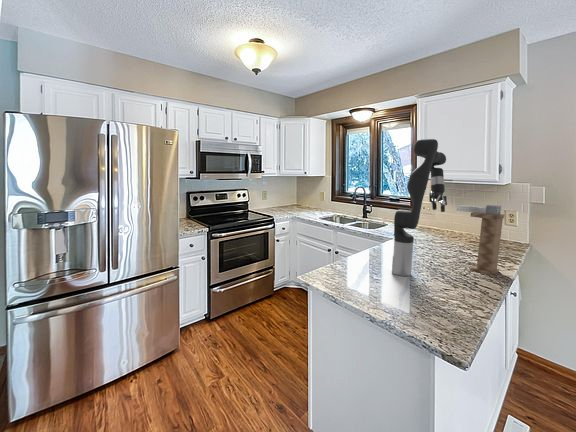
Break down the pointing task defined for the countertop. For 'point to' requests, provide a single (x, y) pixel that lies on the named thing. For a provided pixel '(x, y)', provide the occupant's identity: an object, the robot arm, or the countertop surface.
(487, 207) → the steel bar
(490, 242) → the wooden pedestal
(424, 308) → the countertop surface
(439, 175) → the robot arm
